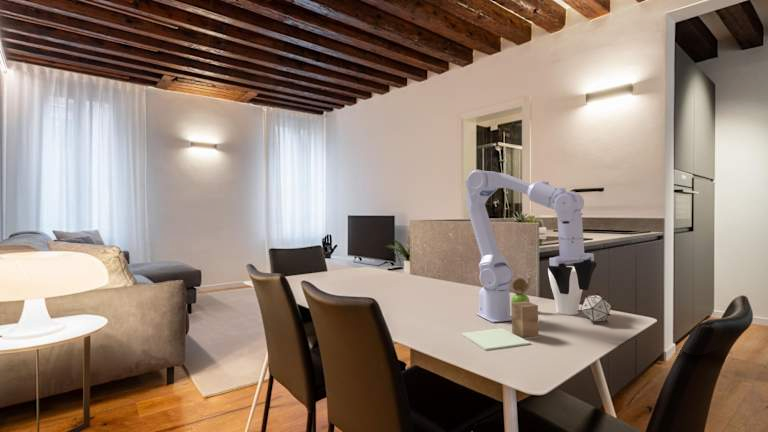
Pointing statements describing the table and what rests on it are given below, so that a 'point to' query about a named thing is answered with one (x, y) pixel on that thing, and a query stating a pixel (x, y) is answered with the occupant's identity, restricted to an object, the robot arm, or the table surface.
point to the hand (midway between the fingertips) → (574, 291)
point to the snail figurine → (521, 289)
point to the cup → (570, 301)
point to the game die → (596, 308)
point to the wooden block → (525, 320)
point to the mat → (495, 339)
